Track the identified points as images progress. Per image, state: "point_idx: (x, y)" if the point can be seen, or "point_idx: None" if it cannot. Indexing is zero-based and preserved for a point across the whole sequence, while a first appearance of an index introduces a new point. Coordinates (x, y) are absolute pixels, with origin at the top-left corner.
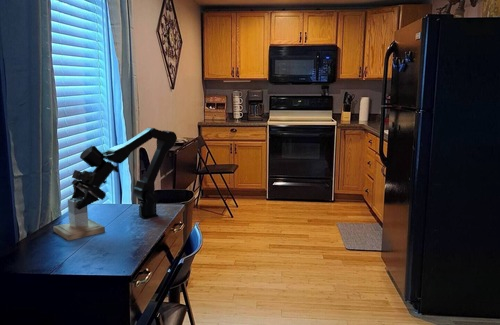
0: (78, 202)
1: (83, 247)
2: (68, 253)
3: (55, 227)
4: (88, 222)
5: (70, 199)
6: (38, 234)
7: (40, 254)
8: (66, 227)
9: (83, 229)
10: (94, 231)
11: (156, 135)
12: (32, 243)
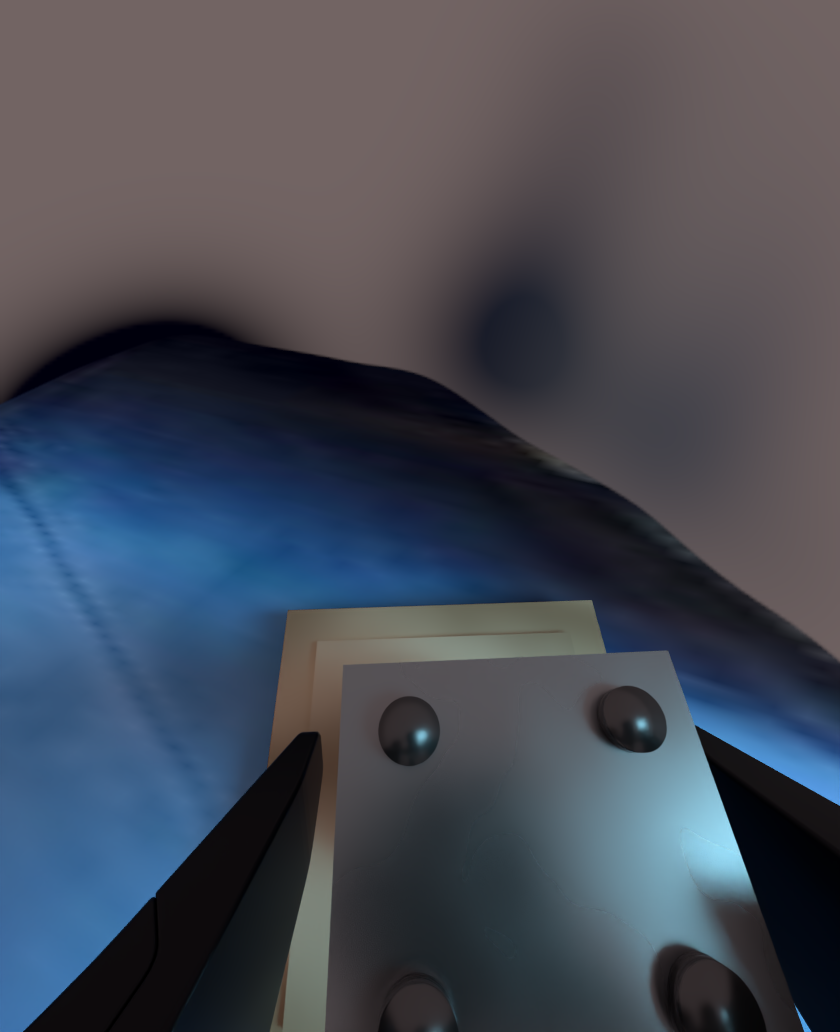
0: (339, 794)
1: (90, 662)
2: (98, 550)
3: (552, 604)
4: None
5: (604, 690)
6: (570, 527)
7: (229, 450)
8: None
9: None
10: None
11: None
12: (424, 465)
